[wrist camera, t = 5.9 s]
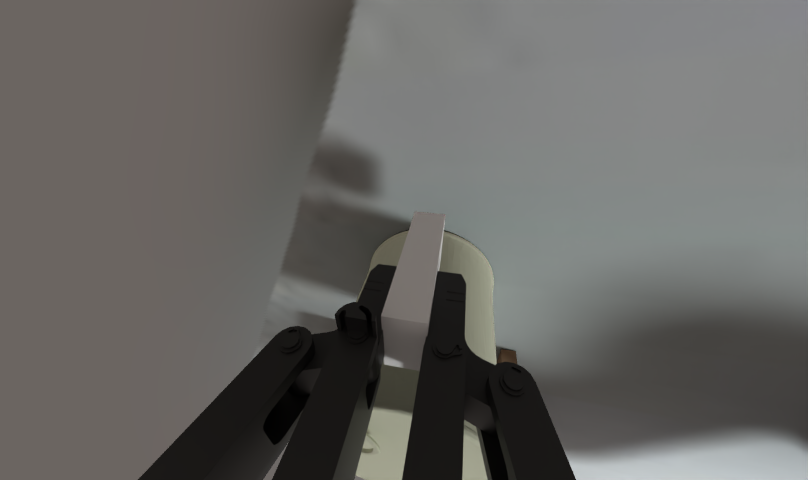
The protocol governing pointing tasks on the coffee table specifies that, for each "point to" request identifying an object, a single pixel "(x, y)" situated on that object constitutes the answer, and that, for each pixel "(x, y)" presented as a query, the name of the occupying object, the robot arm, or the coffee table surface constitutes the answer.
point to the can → (400, 384)
